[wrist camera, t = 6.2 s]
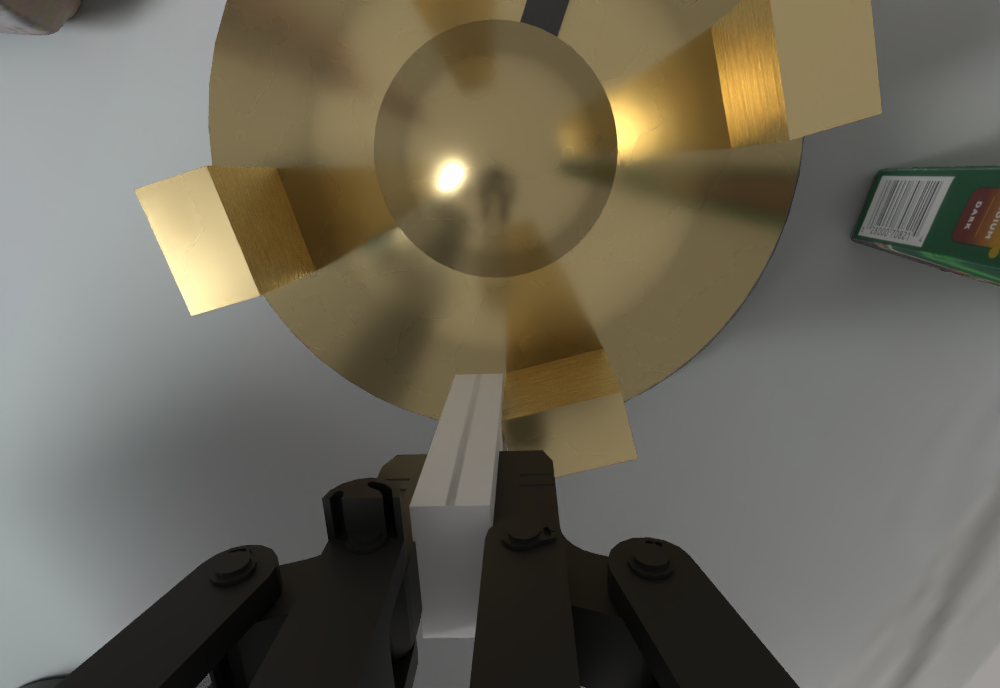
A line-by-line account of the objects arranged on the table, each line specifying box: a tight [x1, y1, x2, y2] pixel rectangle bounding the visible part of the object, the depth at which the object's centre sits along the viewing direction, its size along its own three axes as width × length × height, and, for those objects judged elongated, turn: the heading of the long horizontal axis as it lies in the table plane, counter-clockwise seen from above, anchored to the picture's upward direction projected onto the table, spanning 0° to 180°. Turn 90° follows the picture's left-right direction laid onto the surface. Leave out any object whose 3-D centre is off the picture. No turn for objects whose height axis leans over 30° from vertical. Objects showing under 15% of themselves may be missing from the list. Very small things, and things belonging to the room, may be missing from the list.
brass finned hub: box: [135, 0, 882, 477], centre depth 15 cm, size 16×16×6 cm
